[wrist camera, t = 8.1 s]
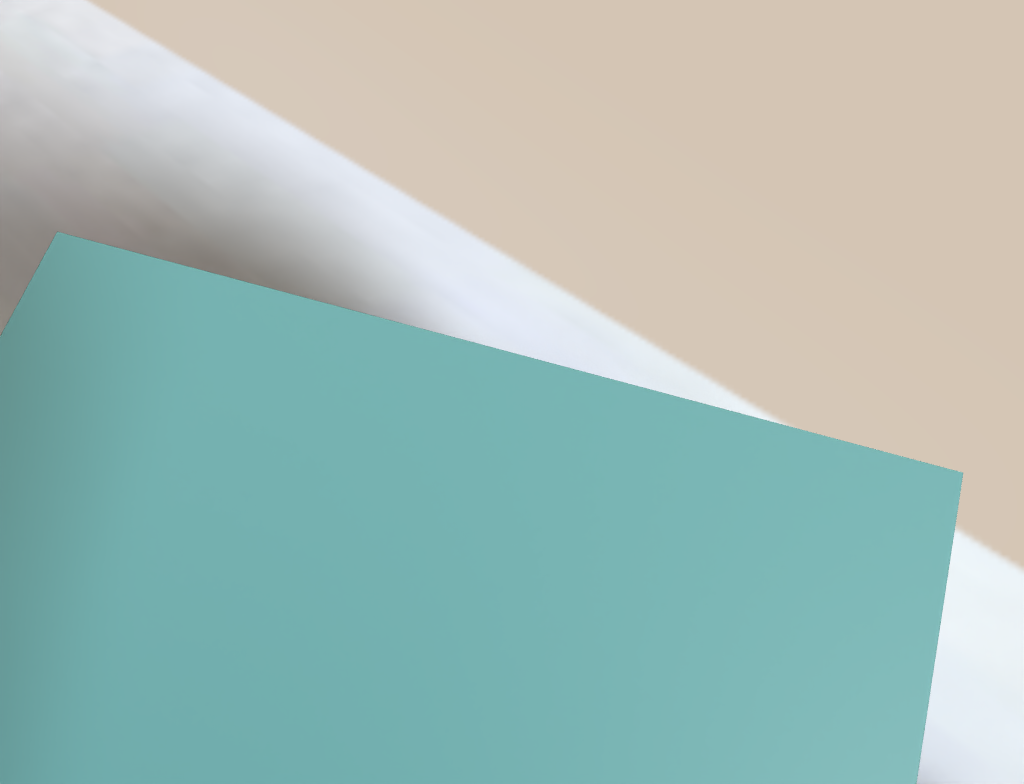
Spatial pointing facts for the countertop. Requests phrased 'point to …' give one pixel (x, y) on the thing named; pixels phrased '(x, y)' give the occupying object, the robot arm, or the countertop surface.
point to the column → (429, 558)
